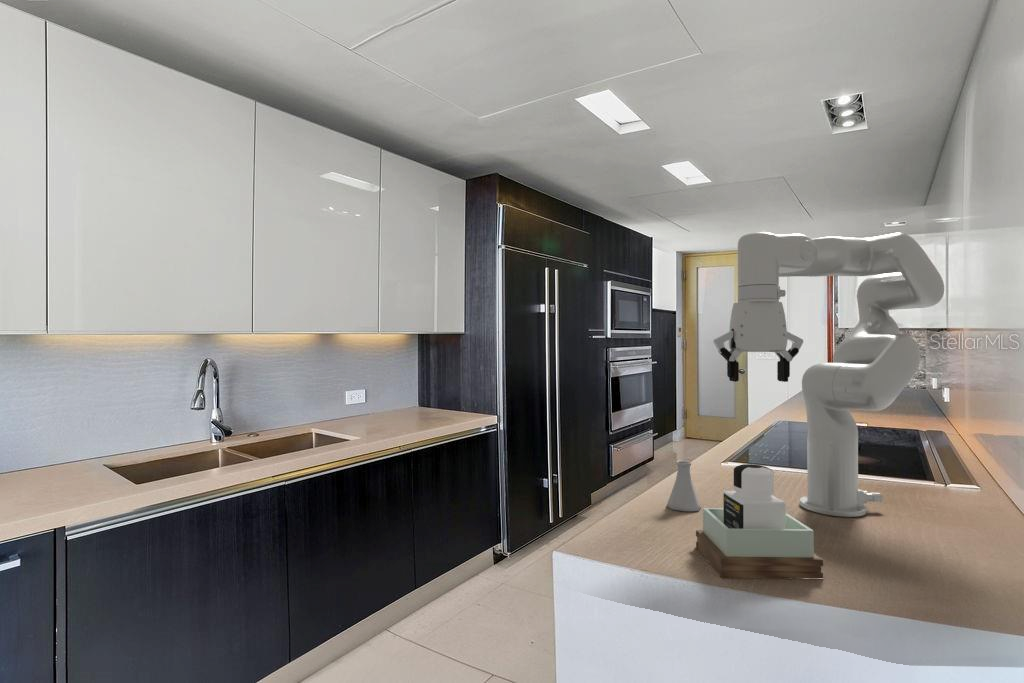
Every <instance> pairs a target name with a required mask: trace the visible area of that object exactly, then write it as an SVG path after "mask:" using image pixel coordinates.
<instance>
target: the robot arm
mask: <svg viewBox="0 0 1024 683" xmlns="http://www.w3.org/2000/svg"><path fill="white" fill-rule="evenodd" d="M868 276H870V277H868ZM781 277H782V278H785V277H786V278H787V277H810V278H811V277H813V278H815V277H817V278H818V277H867V278H865V279H864V280H863V281H862V282H860V284H859V286H858V288H857V291H856V301H857V309H858V318H859V320H858V322H857V324H856V325H855V326H854V328H852V330H851V331H850V332H849V333H848V334H847V336H845V337H844V339H843V340H842V341H840V343H839V344H838V345H837V348H835V350H834V353H833V358H832V362H822V363H817V364H813V365H811V366H810V367H808V368H807V369H806V370H805V371H804V373H803V375H802V379H801V389H802V394H803V399H804V403H805V404H804V405H805V409H806V410H805V411H806V419H807V420H806V422H807V423H806V424H807V425H806V426H807V430H806V431H807V436H806V437H807V438H806V439H807V440H806V441H807V442H806V443H807V445H806V446H807V447H806V448H807V449H806V450H807V452H806V454H807V455H806V456H807V463H806V464H807V467H806V468H807V470H806V471H807V474H806V475H807V476H806V477H807V480H806V481H807V482H806V483H807V486H806V487H807V495H806V496H802V497H800V498H799V506H801V508H804V509H806V510H808V511H810V512H814V513H817V514H822V515H827V516H834V517H843V518H844V517H845V518H853V517H855V518H856V517H862V516H865V515H867V513H868V508H867V506H866V505H864V504H866V503H868V502H871V503H881V502H883V495H882V494H881V493H880V492H868V491H867V490H862V489H860V488H859V430H858V425H857V422H856V420H855V418H854V416H853V414H852V413H851V411H850V410H860V411H868V412H869V411H871V412H876V411H877V412H878V411H879V412H880V411H882V410H885V409H887V408H889V406H890V405H892V404H893V403H894V401H895V400H896V399H897V397H899V395H900V394H901V393H902V391H903V390H904V389H905V388H906V386H907V385H908V384H909V383H910V382H911V381H912V378H913V377H914V376H915V375H916V373H917V371H918V369H919V366H920V363H921V350H920V346H919V345H918V343H917V341H916V340H915V339H914V338H912V336H909V335H907V334H904V333H900V332H901V330H900V328H899V325H898V324H897V322H896V321H895V319H894V318H893V317H892V316H891V315H890V312H889V310H890V311H893V310H894V311H895V310H908V309H909V310H911V309H925V308H930V307H934V306H935V305H936V306H937V304H939V303H940V302H941V300H942V299H943V297H944V294H945V284H944V281H943V278H942V276H941V273H940V272H939V270H938V269H937V268H936V266H935V265H934V263H933V262H932V260H931V259H930V257H929V256H928V254H927V252H926V251H924V249H923V247H921V245H920V244H919V243H918V242H917V241H916V240H915V239H914V237H911V236H910V235H909V234H906V233H903V232H894V233H889V234H883V235H878V236H872V237H863V238H862V237H849V236H845V237H844V236H824V237H817V238H811V237H810V236H807V235H805V234H802V233H792V234H791V233H789V234H775V233H773V232H765V231H764V232H763V231H761V232H753V233H747V234H744V235H742V236H740V238H739V239H738V242H737V302H734V303H733V304H732V309H731V313H730V322H729V331H728V332H726V333H724V334H722V335H720V336H718V337H716V338H714V340H713V343H714V346H715V347H716V349H717V351H718V353H719V355H721V356H722V357H723V358H724V359H725V361H726V367H727V369H726V370H727V371H726V375H727V377H728V378H729V379H728V380H729V381H730V382H733V383H734V382H738V381H739V378H740V377H739V376H740V374H739V373H740V372H739V369H740V365H739V361H737V359H738V358H739V357H740V356H741V354H742V353H774V354H775V355H776V356H777V357H778V358H779V360H778V361H777V362H776V363H777V364H776V365H777V366H776V368H777V370H776V372H777V373H776V374H777V375H776V376H777V381H778V382H782V383H783V382H784V383H788V382H789V378H790V375H791V374H790V373H791V370H790V369H791V367H790V366H791V362H792V361H793V359H794V358H795V357H796V356H797V355H798V354H799V352H800V349H801V348H802V345H803V344H804V339H802V338H801V337H799V336H796V335H795V334H793V333H791V332H789V331H788V330H787V321H786V313H785V307H784V304H783V301H780V300H781V297H782V298H783V297H786V290H785V289H781V286H779V285H780V284H779V283H780V282H779V281H780V278H781ZM727 341H728V347H729V350H728V349H727V348H726V347H725V342H727ZM788 341H789V342H791V347H790V348H789V349H788V350H787V346H788Z"/></svg>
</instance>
